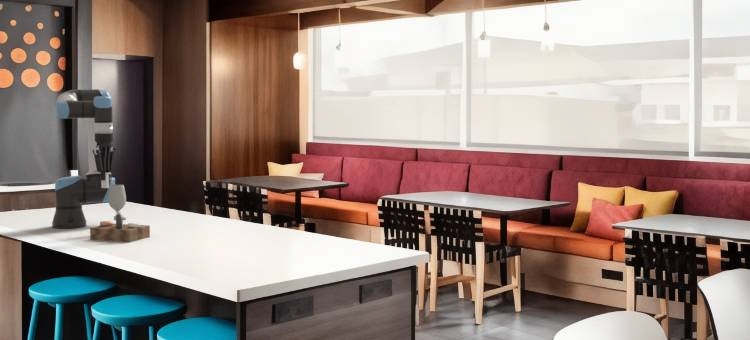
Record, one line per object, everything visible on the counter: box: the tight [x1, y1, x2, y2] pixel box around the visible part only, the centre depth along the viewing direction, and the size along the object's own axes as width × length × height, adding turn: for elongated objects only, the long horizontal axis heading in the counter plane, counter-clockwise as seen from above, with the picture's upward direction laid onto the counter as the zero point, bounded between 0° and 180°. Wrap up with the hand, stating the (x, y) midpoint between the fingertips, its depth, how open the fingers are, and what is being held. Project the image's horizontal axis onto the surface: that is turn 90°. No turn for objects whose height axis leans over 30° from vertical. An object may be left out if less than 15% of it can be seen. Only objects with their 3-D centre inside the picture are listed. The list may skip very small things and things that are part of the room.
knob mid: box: [113, 214, 127, 227], centre depth 366 cm, size 5×5×6 cm
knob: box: [127, 222, 141, 228], centre depth 364 cm, size 5×5×6 cm
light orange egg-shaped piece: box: [99, 220, 113, 227], centre depth 368 cm, size 5×5×6 cm
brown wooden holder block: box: [89, 223, 151, 243], centre depth 366 cm, size 20×14×5 cm
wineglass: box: [108, 184, 127, 214], centre depth 384 cm, size 8×8×21 cm
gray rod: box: [115, 211, 122, 229], centre depth 359 cm, size 2×2×7 cm
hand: (105, 187), depth 367 cm, fingers closed
